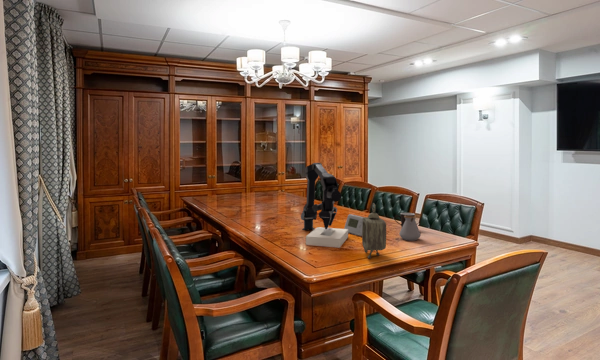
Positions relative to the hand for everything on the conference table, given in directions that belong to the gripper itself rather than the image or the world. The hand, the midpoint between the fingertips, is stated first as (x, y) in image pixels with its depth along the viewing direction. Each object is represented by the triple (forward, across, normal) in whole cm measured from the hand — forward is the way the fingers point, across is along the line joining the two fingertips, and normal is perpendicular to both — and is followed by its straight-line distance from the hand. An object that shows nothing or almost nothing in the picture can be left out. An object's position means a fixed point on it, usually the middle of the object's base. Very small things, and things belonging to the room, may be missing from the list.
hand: (328, 227), depth 204 cm
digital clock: (+8, -22, +11) cm, 26 cm away
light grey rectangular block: (+7, 0, 0) cm, 7 cm away
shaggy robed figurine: (+8, +21, +27) cm, 35 cm away
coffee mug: (+8, -43, +39) cm, 59 cm away
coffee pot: (+8, -13, +43) cm, 45 cm away
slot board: (+7, 0, 0) cm, 7 cm away
